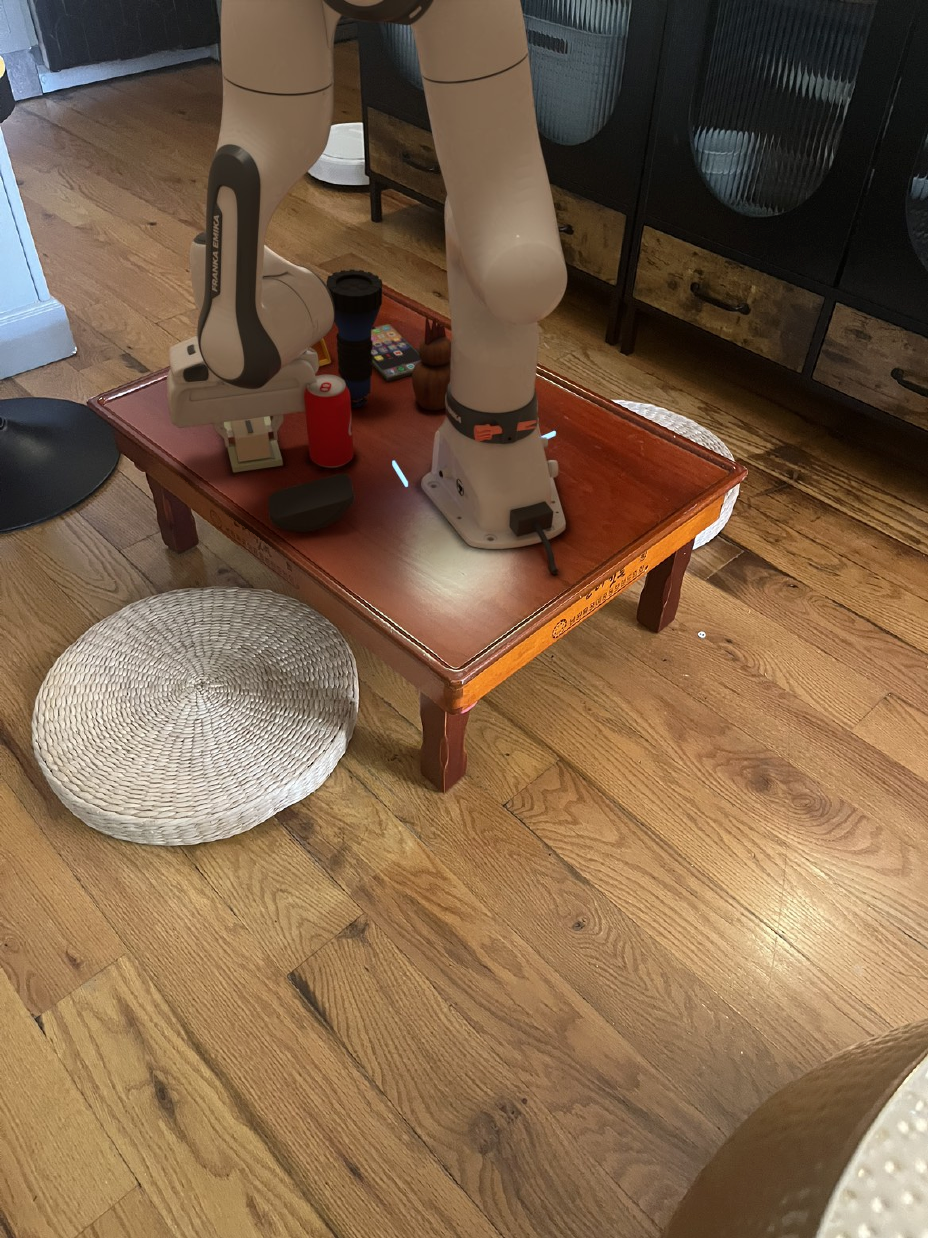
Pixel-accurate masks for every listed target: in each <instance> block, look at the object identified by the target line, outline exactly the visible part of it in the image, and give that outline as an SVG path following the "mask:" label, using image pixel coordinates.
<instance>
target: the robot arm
mask: <svg viewBox="0 0 928 1238" xmlns="http://www.w3.org/2000/svg"><path fill="white" fill-rule="evenodd" d="M220 10H221V11H220V12H221V13H220V57H221V73H222V110H221V112H222V113H221V122H220V129H219V135H218V141H217V144H216V145H217V146H216V149H215V153H214V155H213V157H212V162H211V165H210V169H209V172H208V180H207V188H206V190H207V191H206V209H205V213H206V214H205V230H204V231H202V232H200V233H198V234H197V235H196V236H195V237H194V238H193V239H192V241H191V245H190V250H189V270H190V280H191V288H192V292H193V301H194V304H195V307H196V309H197V311H198V313H199V315H198V319H197V329H196V335H194V336H191V337H190V338H188V339H186V340H183V341H181V342H178V343H176V344H173V345H172V346H171V347H169V349H168V364H169V367H170V369H169V370H168V373H167V376H166V396H167V398H166V399H167V405H168V413H169V417H170V418H169V419H170V422H171V424H173V425H174V426H175V427H176V428H178V429H185V428H186V429H187V428H193V427H200V426H207V425H213V429H214V431H216V433H217V434H219V436H220V437H221V438H222V439H223V442H224V446H225V448H227V447H233V446H236V444H235V437H234V434H233V430H226V428H225V427H224V422H230V421H237V420H245V419H252V418H259V417H267V416H270V417H272V419H271V423H270V425H266V428H267V432H268V436H269V441H275V440H277V441H278V440H279V437H278V436H279V435H278V431H279V429H280V427H281V426H282V424H283V423H284V421H285V419H284V415H289V414H295V413H302V412H303V413H304V412H305V401H304V393H305V390H306V388H307V383H308V384H309V385H311V384H313V383H316V382H317V379H316V376H317V374H316V373H318V371H319V368H320V366H319V356H318V353H317V352H316V351H315V350H314V349H313V348H310V347H311V346H313V345H314V344H316V343H317V342H318V341H320V340H321V339H322V338H323V339H324V338H325V337H326V336H327V335H328V334H330V332H331V331H332V329H333V327H334V325H335V322H334V319H335V308H334V302H333V299H332V296H331V293H330V291H329V289H328V287H327V284H326V282H325V281H324V279H323V278H321V276H320V275H319V274H318V273H316V272H315V271H313V270H312V269H310V268H308V267H306V266H303V265H300V264H294V263H292V262H291V261H289V260H287V259H285V258H284V257H282V256H281V255H279V254H278V253H276V252H275V251H273V250H272V249H270V248H269V247H268V246H267V245H266V244H265V240H266V235H267V231H268V228H269V224H270V222H271V220H272V218H273V216H274V214H275V212H276V210H277V209H278V208H279V206H280V204H281V203H282V201H283V200H284V198H285V197H286V196H287V195H288V193H290V191H291V190H292V189H293V188H294V187H295V185H297V183H298V182H299V181H300V180H301V178H303V176H304V175H306V173H308V171H309V170H310V169H312V167H313V166H314V165H315V164H316V163H317V162H318V161H319V159H320V158H321V157H322V155H323V153H324V152H325V150H326V148H327V145H328V142H329V139H330V134H331V129H332V124H333V119H334V118H333V117H334V110H335V109H334V108H335V106H334V104H335V99H334V97H335V89H334V88H335V87H334V86H335V83H334V82H335V81H334V78H335V77H334V76H335V74H334V71H335V70H334V45H335V35H336V30H337V26H338V24H339V22H340V19H341V17H345V18H348V19H351V20H355V21H359V22H369V23H387V24H394V25H401V26H409V27H410V31H411V32H412V36H413V40H414V44H415V49H416V54H417V59H418V65H419V71H420V77H421V81H422V87H423V91H424V98H425V102H426V107H427V114H428V117H429V123H430V129H431V133H432V138H433V143H434V148H435V154H436V158H437V161H438V164H439V167H440V168H439V169H440V173H441V175H442V179H443V182H444V186H445V190H446V197H445V202H444V230H445V256H446V257H445V258H446V259H445V260H446V273H447V274H446V278H447V291H448V304H449V305H448V306H449V315H450V316H449V318H450V331H451V333H450V334H451V336H450V337H451V338H450V339H451V340H450V341H451V357H450V359H451V370H450V382H449V384H448V386H447V393H446V397H445V404H446V407H445V417H444V420H443V421H442V423H441V425H440V426H439V427H438V428H437V429H436V431H435V433H434V437H433V438H434V440H433V448H432V449H433V450H432V459H431V460H432V461H431V462H432V463H431V470H430V471H429V472H428V473H426V474H425V475H424V476H423V477H422V479H421V484H420V487H421V489H422V490H423V492H424V493H425V495H427V496H428V498H429V499H430V501H431V502H433V504H434V505H435V506H436V508H437V509H438V510H439V511H440V512H441V514H442V515H443V516H444V517H445V519H446V520H447V521H448V522H449V524H450V525H451V526H452V528H454V530H455V531H456V532H457V534H459V536H460V537H461V538H462V540H463V541H464V542H465V543H466V544H467V545H468V546H470V547H473V548H479V549H486V550H503V549H504V550H505V549H514V548H521V547H525V546H526V547H527V546H531V545H535V544H539V543H542V545H543V547H544V550H545V553H546V557H547V561H548V568H549V570H550V572H551V574H552V575H555V574H558V572H559V569H558V568H557V566H556V560H555V556H554V552H553V548H552V545H551V543H550V540H551V539H553V538H555V537H557V536H559V535H560V534H562V533H563V532H564V531H565V530H566V528H567V527H566V525H567V523H566V519H565V518H566V517H565V514H564V511H563V508H562V504H561V500H560V497H559V493H558V490H557V487H556V484H555V480H554V478H556V477H558V476H559V463H558V460H556V459H550V460H549V459H547V456H546V452H545V449H546V448H548V446H549V439H551V438H553V437H556V434H557V432H556V431H555V430H553V431H551V432H549V433H546V434H544V435H542V434H541V429H540V424H539V420H540V419H539V413H538V412H539V401H538V392H537V389H536V387H535V386H536V377H537V371H538V370H537V368H538V358H539V349H540V340H541V337H540V330H539V328H540V327H539V323H538V322H540V321H541V320H543V319H544V318H546V317H548V316H549V315H550V314H551V313H552V312H553V311H554V310H555V309H556V308H557V307H558V306H559V304H560V303H561V301H562V299H563V297H564V295H565V293H566V288H567V284H568V270H567V265H566V259H565V255H564V252H563V247H562V243H561V242H562V241H561V236H560V231H559V225H558V220H557V214H556V209H555V206H554V205H555V204H554V199H553V194H552V190H551V185H550V180H549V176H548V170H547V167H546V163H545V158H544V154H543V150H542V146H541V145H542V144H541V140H540V135H539V129H538V122H537V112H536V105H535V97H534V89H533V78H532V72H531V63H530V54H529V45H528V39H527V38H528V37H527V31H526V25H525V19H524V14H523V13H524V12H523V8H522V3H521V0H221V9H220ZM307 350H309V351H307ZM391 463H392V467H393V469H394V470H395V472H396V474H397V475H398V477H399V479H400V480H401V482H402V483H403V485H404V487H405V488H407V487H409V481H408V480H407V478H406V477H405V475H404V474H403V472H402V470H401V469H400V467H399V465H398V463H397V461H396V460H392V462H391Z"/></svg>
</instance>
